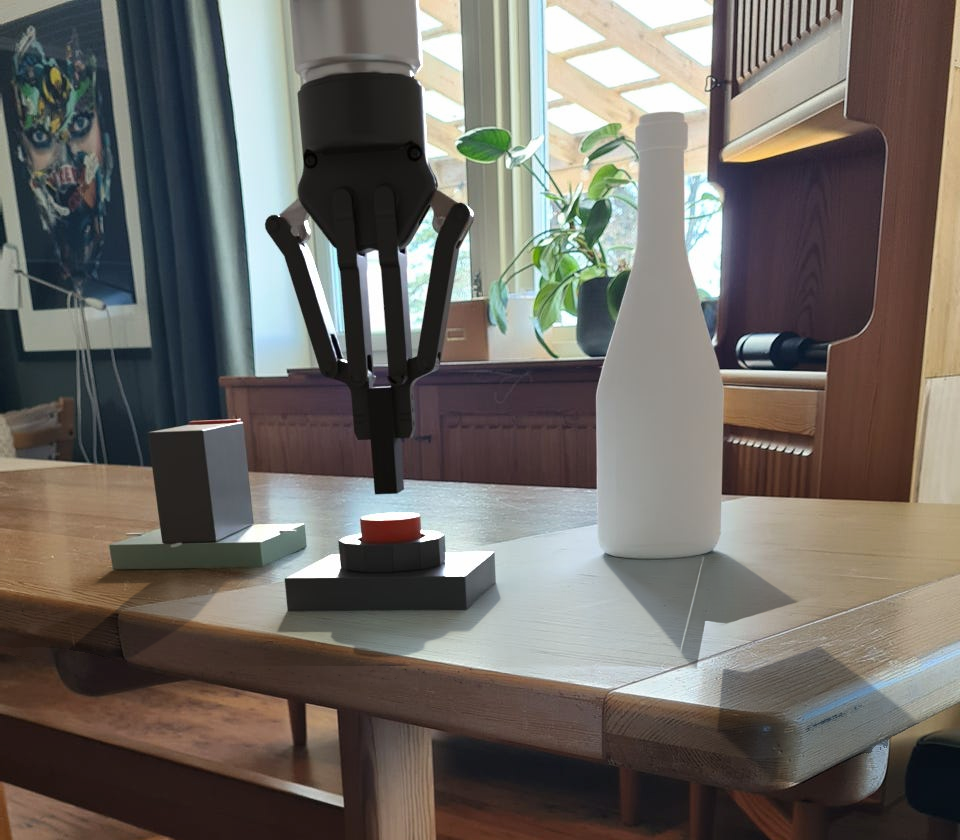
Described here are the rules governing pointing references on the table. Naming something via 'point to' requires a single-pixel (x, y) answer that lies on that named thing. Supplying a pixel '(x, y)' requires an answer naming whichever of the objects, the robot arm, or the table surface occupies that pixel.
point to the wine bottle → (660, 380)
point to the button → (390, 527)
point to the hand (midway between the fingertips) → (389, 491)
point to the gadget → (201, 480)
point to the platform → (210, 549)
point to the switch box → (392, 577)
